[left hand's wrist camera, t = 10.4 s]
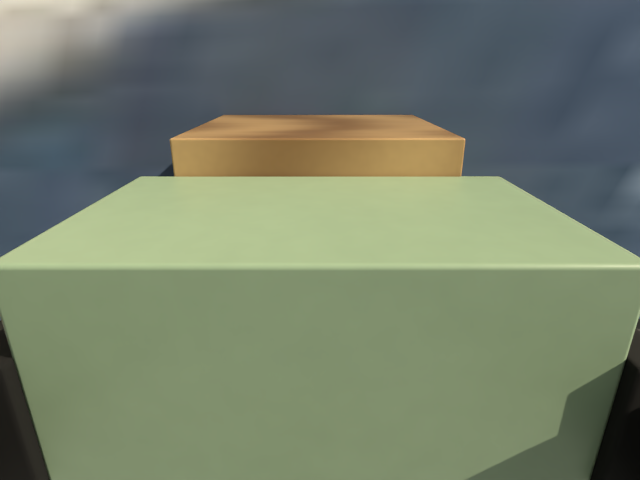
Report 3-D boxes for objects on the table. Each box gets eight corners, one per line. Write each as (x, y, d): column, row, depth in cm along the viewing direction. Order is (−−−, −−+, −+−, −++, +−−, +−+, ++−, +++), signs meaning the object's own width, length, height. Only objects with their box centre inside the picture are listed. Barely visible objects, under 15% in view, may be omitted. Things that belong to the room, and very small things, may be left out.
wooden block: (413, 114, 18) (466, 138, 12) (382, 540, 28) (401, 686, 21) (222, 114, 18) (168, 138, 12) (255, 541, 28) (235, 686, 21)
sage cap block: (501, 175, 12) (657, 265, 6) (473, 357, 14) (573, 543, 9) (139, 175, 12) (-18, 265, 6) (166, 357, 14) (65, 543, 9)
